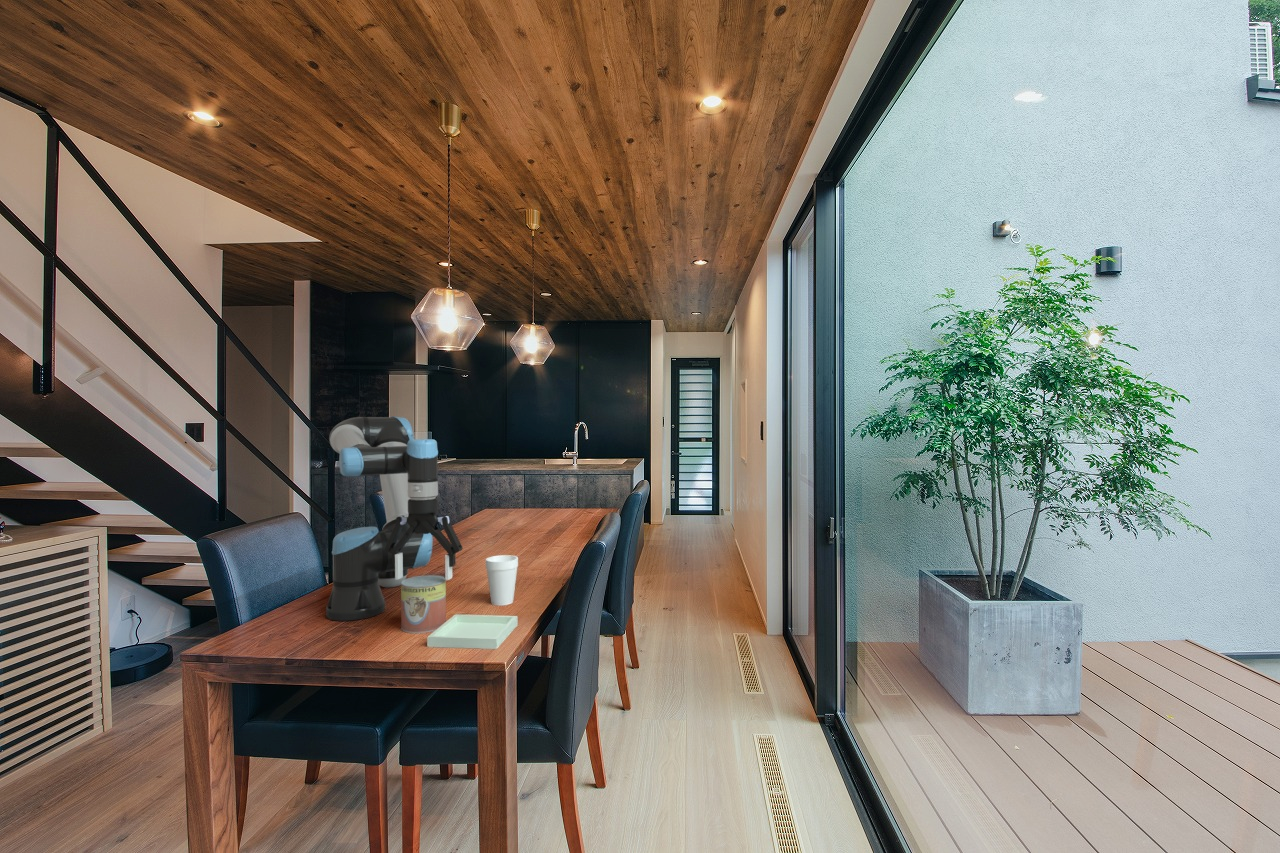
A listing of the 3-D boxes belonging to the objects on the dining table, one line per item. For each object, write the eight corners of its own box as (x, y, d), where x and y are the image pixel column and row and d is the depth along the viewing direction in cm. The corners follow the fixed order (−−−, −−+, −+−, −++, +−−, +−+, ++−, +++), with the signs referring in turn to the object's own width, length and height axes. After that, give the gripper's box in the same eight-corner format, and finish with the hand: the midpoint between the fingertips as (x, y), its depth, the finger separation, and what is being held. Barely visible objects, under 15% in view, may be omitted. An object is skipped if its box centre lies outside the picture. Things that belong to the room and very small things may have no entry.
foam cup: (499, 609, 177) (499, 563, 177) (479, 603, 182) (479, 559, 182) (525, 601, 184) (524, 557, 184) (504, 595, 190) (504, 553, 190)
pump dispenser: (401, 589, 197) (400, 542, 197) (369, 589, 197) (368, 542, 197) (413, 581, 207) (413, 536, 207) (382, 581, 208) (382, 536, 207)
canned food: (393, 633, 157) (393, 586, 157) (411, 618, 169) (411, 574, 169) (437, 633, 157) (436, 586, 157) (452, 619, 168) (452, 575, 168)
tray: (427, 646, 148) (427, 636, 148) (455, 623, 165) (455, 614, 165) (496, 649, 146) (496, 639, 146) (517, 625, 163) (517, 616, 163)
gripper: (370, 499, 160) (371, 581, 160) (463, 499, 157) (464, 582, 157) (384, 496, 167) (385, 574, 167) (474, 496, 165) (475, 575, 165)
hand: (423, 578), depth 162 cm, fingers open, 13 cm apart
